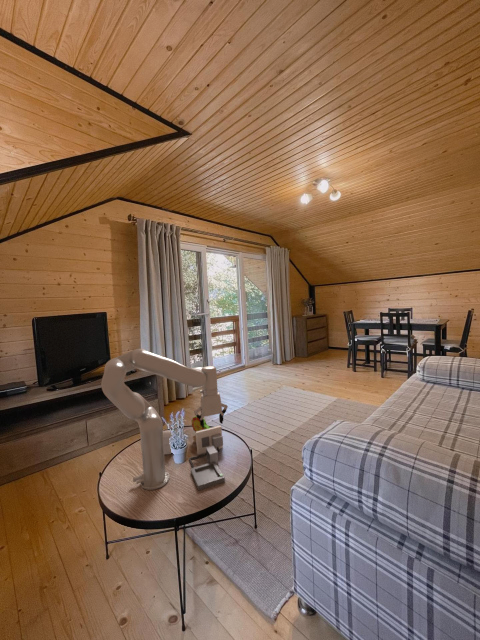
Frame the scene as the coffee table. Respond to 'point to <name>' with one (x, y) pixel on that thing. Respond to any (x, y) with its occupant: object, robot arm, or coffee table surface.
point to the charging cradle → (207, 475)
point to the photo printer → (166, 442)
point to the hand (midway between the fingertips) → (212, 424)
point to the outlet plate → (209, 439)
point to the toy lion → (198, 426)
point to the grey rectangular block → (212, 454)
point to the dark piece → (199, 456)
